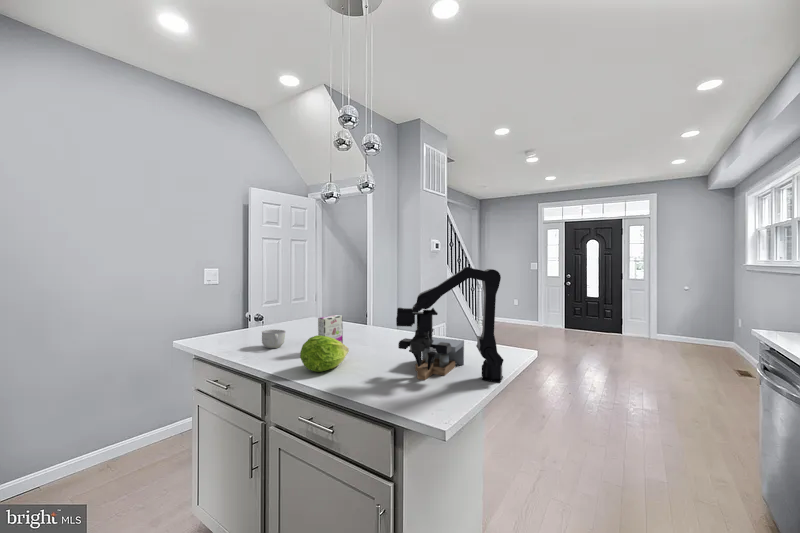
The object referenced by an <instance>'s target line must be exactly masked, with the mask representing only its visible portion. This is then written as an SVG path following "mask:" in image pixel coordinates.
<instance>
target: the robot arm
mask: <svg viewBox="0 0 800 533" xmlns="http://www.w3.org/2000/svg"><path fill="white" fill-rule="evenodd" d="M501 278H502V277H501V273H500V272H499V271H498V270H496V269H492V268H486V269H485V270H483V269H477V268H473V267H470V266H465V267H463V268H461V270H459V271H458V272H456V273H454V275H452V276H450V277H449V278H447V279H445V280H444V281H442V282H441V283H440V284H438V285H436V286H434V287H432V288H428V289H426V290H424V291H422V292H420V293H419V294H418V295H417V297H416V302H415V304H413V305H412V307H410V308H409V307H408V308H407V307H404V308H403V307H397V309H396V310H397V311H396V318H395V319H396V320H395V321H396V324H395V325H396V327H410V328H412V327H413V325H415V324H416V329H415V333H414V336H413V337H412V338H406V337H405V338H403V339H401V340H399V341H398V349H400V350H407V349H408V348H409V349H408V351H409V353H411V354H413V357H414V358H415V360H416V364H418V367H419V366H421V364H422V352H423V351H424V350H425V348H426V349H430V352H428V370H430V368H431V365H432V362H433V360H434V358H435V356H436V354H437V353H441V354H447V353H449V352H450V351H451V345H450V343H444V342H440V343H438V344H432V343H433V340H432V337H433V332H434V328H433V316H437V315H438V311H436V310H435V308H434V307H432V306H433V305H434V304H435V303H437V301H438V300H440V299H441V297H442V296H444V295H445V294H446V293H448V292H450V291H451V290H453V289H454V288H456V287H458V286H459V285H461V284H462V283H463V282H465V281H467V280H468V279H471V280H472V279H473V280H478V281H481V283H482V284H481V285H482V289H483V293H484V294H483V295H484V297H483V310H482V311H483V314H482V318H483V319H482V331H481V334H480V335H477V336H476V340H477V343H476V344H475V346H476V348H477V350H478V352H479V353H480V356H481V357H482V358H483V359H484V360H483V364H481V380H482V381H487V382H495V383H501V382H502V380H503V379H504V376H503V363H504V359H503V357H502V356H501V355H500V354H499V352H498V348H497V340H496V338H495V336H496V335H495V321H496V320H495V319H496V302H497V301H496V300H497V299H496V298H497V293H498V291H499V288H500V285H501V284H500V283H501ZM431 307H432V308H431ZM430 308H431V309H430ZM421 310H422V311H421Z"/></svg>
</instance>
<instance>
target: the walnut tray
mask: <svg viewBox="0 0 800 533" xmlns="http://www.w3.org/2000/svg"><path fill="white" fill-rule="evenodd" d="M455 368H456V364H455V361H452V360H449V355H448V354H440V359H438V358H434V360H433V362H432V365H431V368H430V370H428V352H426V358H425V359H423V360H422V364H421V366H419V367H418V364H417V363H415V365H414V369H415V372H417V374H416V376H417V378H416V379H417V380H423V381H426V380H427V379H429V378H430V377H432V376H433V375H438V376H446V375H448V374H449V373H450V372H452V370H454V369H455Z"/></svg>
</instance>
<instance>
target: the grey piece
mask: <svg viewBox="0 0 800 533" xmlns="http://www.w3.org/2000/svg"><path fill="white" fill-rule="evenodd" d="M432 340H433V343H432V344H438V343H440V342H444V343H450V345H451V351H450V352H449V353H447V354H448V355H449V360H452V361H455V365H459V366H464V365H465V340H464V339H453V338H445V337H444V338H443V337H434V336H432ZM426 352H430V349H426V348H425V350H424V351H423V352H422V360H423V359H425V358H426ZM440 354H441V353H437V354H436V356H435V358H438V359H440Z"/></svg>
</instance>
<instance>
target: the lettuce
mask: <svg viewBox="0 0 800 533" xmlns="http://www.w3.org/2000/svg"><path fill="white" fill-rule="evenodd" d="M349 349H350V348H349V347H348V346H347V345H345V344H344V343H343V344H342V343H341V342H340V341H338V340H336V339H334V338H331V337H327V336H321V335H314V336H312V337H309V338H308V339H307V340H306V341H305V342H304V343H303V344H302V346H301V349H300V354H299V358H300V360H301V362H302V364H303V365H304V368H306V369H307V370H309V371H311V372H316V373H321V372H326V371H329V370H332V369H335V368H336V367H337V366H339V365H340V364H341V363H342V362H343V361H344V360H345V358H346V356H347V355H348V354H349V353H350V352H349V351H350V350H349Z"/></svg>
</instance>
